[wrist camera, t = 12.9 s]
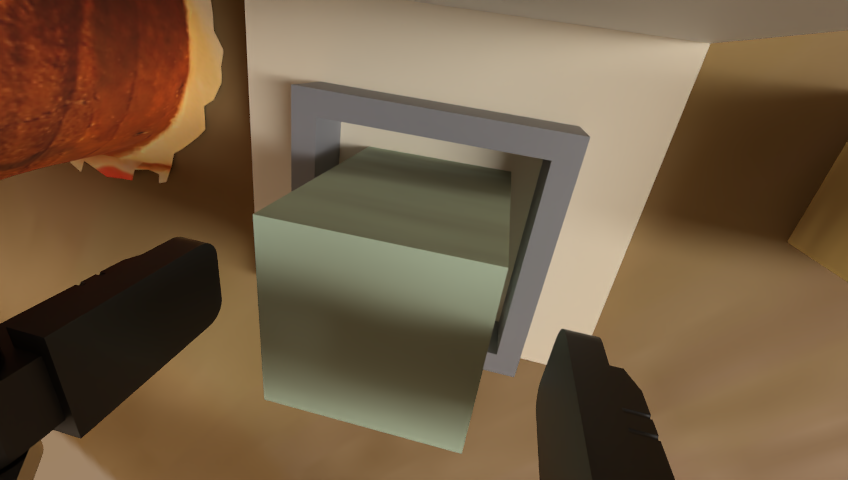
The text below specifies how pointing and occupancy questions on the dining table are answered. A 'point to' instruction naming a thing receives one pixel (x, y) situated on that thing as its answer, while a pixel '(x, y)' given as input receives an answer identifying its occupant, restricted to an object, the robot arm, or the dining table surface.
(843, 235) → the mustard block
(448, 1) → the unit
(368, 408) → the sage block
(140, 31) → the vessel
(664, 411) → the dining table surface
